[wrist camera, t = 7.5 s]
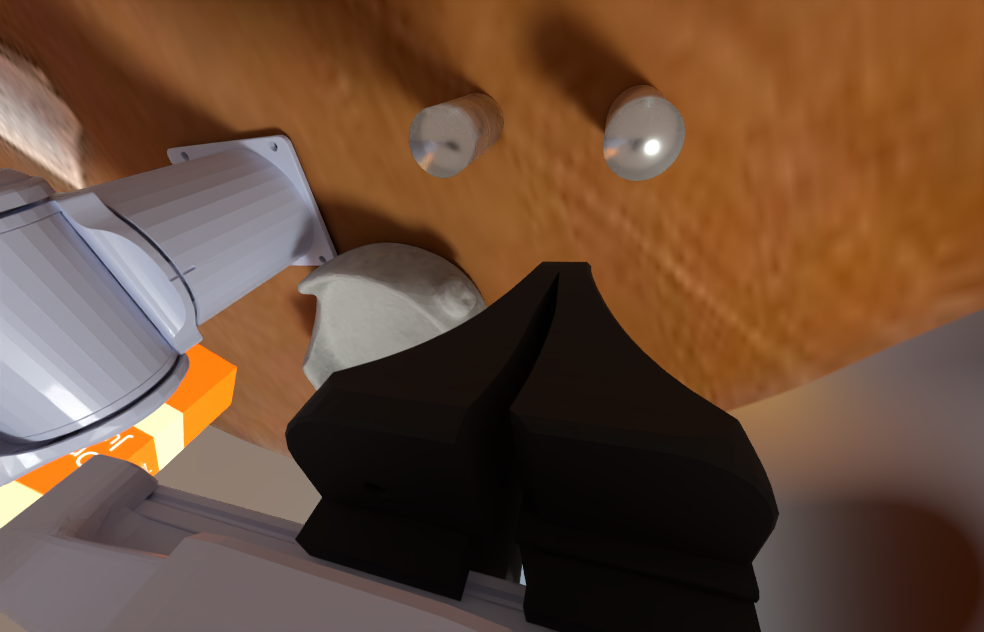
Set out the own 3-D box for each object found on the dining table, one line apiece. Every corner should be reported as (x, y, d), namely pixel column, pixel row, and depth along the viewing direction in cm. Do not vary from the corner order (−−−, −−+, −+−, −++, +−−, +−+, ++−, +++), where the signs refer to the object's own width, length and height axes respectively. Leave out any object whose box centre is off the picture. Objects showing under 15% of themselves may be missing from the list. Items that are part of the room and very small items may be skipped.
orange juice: (238, 367, 37) (-36, 599, 21) (232, 405, 42) (10, 611, 27) (166, 324, 36) (-179, 536, 20) (169, 368, 41) (-100, 562, 26)
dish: (350, 370, 32) (314, 415, 28) (301, 221, 24) (239, 255, 20) (508, 405, 29) (492, 460, 25) (514, 247, 21) (491, 293, 17)
